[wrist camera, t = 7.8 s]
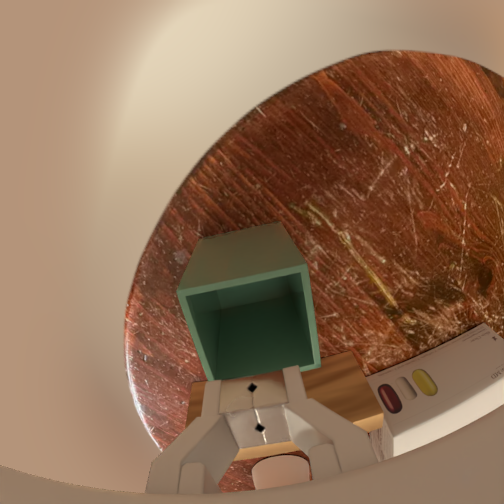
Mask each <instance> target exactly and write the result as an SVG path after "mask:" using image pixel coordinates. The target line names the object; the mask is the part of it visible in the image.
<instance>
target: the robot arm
mask: <svg viewBox="0 0 504 504" xmlns="http://www.w3.org/2000/svg"><path fill="white" fill-rule="evenodd" d="M283 374H284V375H283ZM287 441H292V442H293V443H294V444H295V445H296V446H297V447H298V448H299V449H301V450H302V451H303V452H304V453H305V454H306V455H307V456H308V457H309V460H310V466H311V472H312V478H313V480H312V481H307V482H302V483H297V484H291V485H286V486H280V487H273V488H266V489H258V490H250V491H240V492H228V493H223V492H222V491H221V489H220V488H219V486H218V485H217V484H218V483H219V481H220V480H221V478H222V477H223V475H224V474H225V472H226V471H227V469H228V468H229V466H230V464H231V463H232V461H233V460H234V458H235V457H236V455H237V454H238V452H239V449H244V448H250V447H256V446H262V445H268V444H275V443H281V442H287ZM0 504H504V404H503V405H501V406H500V407H498V408H496V409H495V410H493V411H491V412H489V413H488V414H486V415H484V416H482V417H481V418H479V419H477V420H475V421H473V422H471V423H470V424H468V425H466V426H464V427H462V428H460V429H458V430H456V431H454V432H452V433H450V434H448V435H446V436H443V437H441V438H439V439H437V440H435V441H432V442H430V443H428V444H425V445H423V446H421V447H418V448H416V449H413V450H411V451H408V452H406V453H403V454H400V455H398V456H395V457H392V458H389V459H387V460H384V461H381V462H378V459H377V456H376V454H375V451H374V449H373V446H372V444H371V441H370V439H369V436H368V434H367V432H366V431H365V430H363V429H362V428H360V427H358V426H357V425H355V424H353V423H352V422H350V421H348V420H347V419H345V418H343V417H342V416H340V415H338V414H337V413H335V412H333V411H332V410H330V409H329V408H327V407H325V406H324V405H322V404H321V403H319V402H318V401H316V400H314V399H313V398H310V399H307V395H306V391H305V387H304V384H303V380H302V376H301V372H300V368H299V366H298V365H296V366H291V367H287V368H283V370H282V369H280V370H275V371H270V372H265V373H260V374H255V375H249V376H242V377H235V378H228V379H222V380H214V381H207V382H206V384H205V389H204V397H203V405H202V413H201V417H196V418H195V419H194V420H193V422H192V423H191V424H190V425H189V426H188V427H187V428H186V429H185V430H184V431H183V432H182V433H181V434H180V435H179V436H178V437H177V438H176V439H175V440H174V441H173V442H172V443H171V444H170V445H169V446H168V447H167V448H166V449H165V450H164V451H163V452H162V453H161V454H160V455H159V456H158V457H157V458H156V459H155V460H154V461H153V462H152V463H151V468H150V472H149V477H148V481H147V486H146V491H145V493H134V492H124V491H114V490H106V489H98V488H91V487H85V486H80V485H74V484H69V483H64V482H59V481H55V480H51V479H46V478H42V477H38V476H35V475H31V474H27V473H24V472H20V471H17V470H13V469H11V468H8V467H4V466H2V465H0Z"/></svg>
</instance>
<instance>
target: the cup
mask: <svg viewBox="0 0 504 504" xmlns="http://www.w3.org/2000/svg"><path fill="white" fill-rule="evenodd" d="M252 477H253V482H254V485H255V488H256V490H258V489H266V488H273V487H280V486H286V485H291V484H297V483H302V482H307V481H309V464H308V462H307V461H306V460H305V459H304V458H301V457H299V456H293V455H281V456H274V457H270V458H267V459H264V460H262V461H260V462H258V463H257V464H256V465H255V466H254V467H253V468H252Z"/></svg>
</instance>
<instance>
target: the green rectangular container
mask: <svg viewBox="0 0 504 504" xmlns="http://www.w3.org/2000/svg"><path fill="white" fill-rule="evenodd" d="M176 292H177V296H178V299H179V302H180V305H181V308H182V311H183V314H184V317H185V319H186V322H187V325H188V328H189V331H190V334H191V337H192V339H193V342H194V345H195V348H196V350H197V353H198V356H199V358H200V361H201V364H202V366H203V369H204V372H205V374H206V377H207V379H208V381H214V380H222V379H228V378H235V377H242V376H249V375H255V374H260V373H265V372H270V371H275V370H280V369H282V370H283V368H287V367H291V366H296V365H298V366H299V368H300V372H303V371H307V370H312V369H316V368H320V367H321V359H320V350H319V342H318V335H317V327H316V319H315V312H314V305H313V298H312V291H311V284H310V278H309V271H308V265H307V262H306V261H305V259H304V258H303V256H302V254H301V253H300V251H299V250H298V248H297V246H296V245H295V243H294V242H293V240H292V239H291V237H290V235H289V234H288V232H287V231H286V229H285V227H284V226H283V224H282V223H281V221H277V222H273V223H268V224H263V225H259V226H254V227H249V228H245V229H240V230H236V231H231V232H226V233H222V234H217V235H213V236H208V237H204V238H199V239H198V241H197V244H196V246H195V248H194V250H193V253H192V255H191V257H190V260H189V262H188V264H187V267H186V269H185V271H184V274H183V276H182V278H181V281H180V283H179V285H178V288H177V290H176ZM283 375H284V374H283Z"/></svg>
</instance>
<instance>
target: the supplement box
mask: <svg viewBox="0 0 504 504" xmlns="http://www.w3.org/2000/svg"><path fill="white" fill-rule="evenodd" d="M366 379H367V381H368V383H369V385H370V387H371V389H372V391H373V392H374V394H375V396H376V398H377V400H378V402H379V404H380V406H381V408H382V410H383V412H384V417H383V426H382V428H379V429H376V430H373V431H370V432H369V434H370V441H371V444H372V446H373V449H374V451H375V454H376V456H377V459H378V461H379V462H381V461H384V460H387V459H389V458H392V457H395V456H398V455H400V454H403V453H406V452H408V451H411V450H413V449H416V448H418V447H421V446H423V445H425V444H428V443H430V442H432V441H435V440H437V439H439V438H441V437H443V436H446V435H448V434H450V433H452V432H454V431H456V430H458V429H460V428H462V427H464V426H466V425H468V424H470V423H471V422H473V421H475V420H477V419H479V418H481V417H482V416H484V415H486V414H488V413H489V412H491V411H493V410H495V409H496V408H498V407H500V406H501V405H503V404H504V339H503V338H501V337H500V336H499V335H498V334H497V333H496V332H494V331H493V330H492V329H491V328H490V327H488V326H487V325H486V324H485V323H482V324H481V325H479V326H477V327H475V328H473V329H472V330H470V331H468V332H466V333H464V334H462V335H460V336H458V337H456V338H454V339H452V340H450V341H448V342H446V343H444V344H442V345H440V346H438V347H436V348H434V349H432V350H430V351H427V352H425V353H423V354H421V355H419V356H416V357H414V358H412V359H410V360H407V361H405V362H403V363H400V364H398V365H395V366H393V367H391V368H388V369H386V370H383V371H381V372H378V373H375V374H373V375H370V376H367V377H366Z"/></svg>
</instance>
